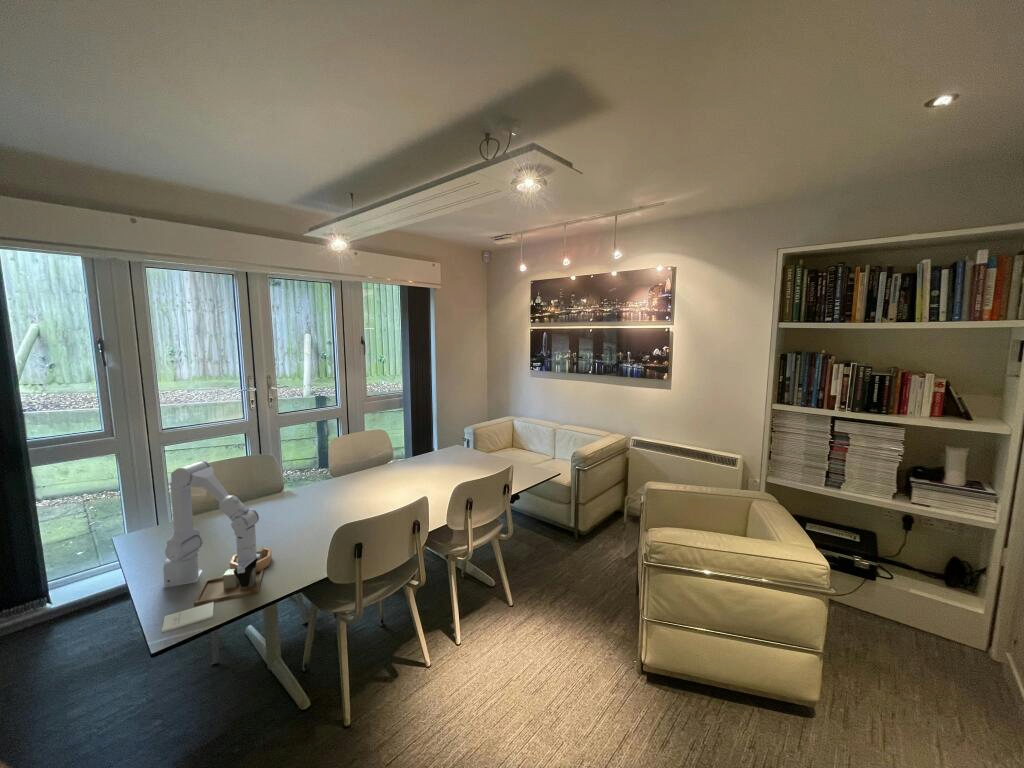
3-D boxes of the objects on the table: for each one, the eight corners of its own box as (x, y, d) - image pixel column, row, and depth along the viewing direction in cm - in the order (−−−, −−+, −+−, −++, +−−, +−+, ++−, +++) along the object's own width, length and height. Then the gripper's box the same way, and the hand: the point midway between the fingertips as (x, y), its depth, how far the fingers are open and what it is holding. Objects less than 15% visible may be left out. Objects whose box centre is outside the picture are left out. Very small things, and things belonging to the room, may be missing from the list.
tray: (194, 606, 133) (193, 602, 132) (205, 583, 145) (205, 579, 145) (257, 594, 140) (257, 590, 140) (263, 572, 152) (263, 569, 152)
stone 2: (240, 588, 142) (239, 574, 142) (243, 582, 145) (242, 569, 145) (253, 586, 143) (252, 573, 143) (255, 580, 147) (255, 567, 146)
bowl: (228, 578, 148) (227, 568, 148) (235, 560, 160) (235, 550, 159) (268, 571, 153) (268, 561, 153) (272, 554, 165) (272, 545, 165)
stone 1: (223, 588, 142) (222, 575, 141) (228, 582, 145) (227, 569, 144) (236, 587, 142) (235, 574, 142) (240, 581, 146) (240, 568, 145)
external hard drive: (213, 620, 127) (161, 635, 120) (214, 605, 134) (165, 619, 127) (213, 615, 127) (161, 630, 120) (213, 601, 134) (164, 614, 127)
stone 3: (250, 564, 156) (249, 552, 156) (252, 560, 159) (251, 548, 159) (262, 562, 158) (261, 550, 157) (263, 558, 161) (263, 546, 160)
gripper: (253, 554, 137) (255, 591, 139) (264, 534, 151) (265, 568, 152) (229, 557, 135) (231, 594, 136) (242, 536, 149) (244, 571, 150)
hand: (247, 580), depth 144 cm, fingers open, 6 cm apart
